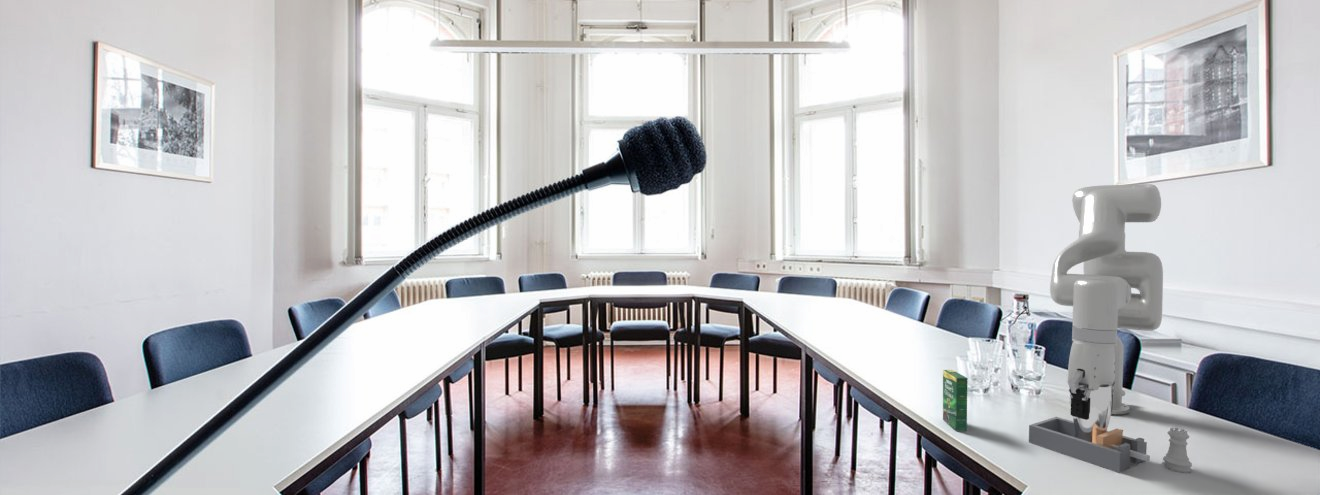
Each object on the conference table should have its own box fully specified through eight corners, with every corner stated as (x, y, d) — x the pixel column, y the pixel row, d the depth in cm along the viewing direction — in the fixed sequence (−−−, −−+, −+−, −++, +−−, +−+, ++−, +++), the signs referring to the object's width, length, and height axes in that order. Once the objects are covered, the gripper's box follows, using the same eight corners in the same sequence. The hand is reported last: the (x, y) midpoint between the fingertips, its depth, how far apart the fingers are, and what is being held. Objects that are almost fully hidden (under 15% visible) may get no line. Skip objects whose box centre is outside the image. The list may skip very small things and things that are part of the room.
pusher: (1116, 451, 116) (1117, 428, 116) (1157, 463, 110) (1158, 440, 110) (1096, 459, 112) (1097, 435, 112) (1138, 472, 106) (1139, 448, 106)
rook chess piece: (1155, 464, 111) (1157, 426, 111) (1175, 463, 112) (1177, 425, 111) (1178, 474, 107) (1180, 434, 107) (1198, 473, 107) (1200, 434, 107)
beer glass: (1118, 458, 113) (1119, 388, 112) (1080, 456, 114) (1082, 386, 114) (1098, 445, 120) (1100, 379, 119) (1063, 443, 121) (1064, 377, 120)
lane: (1055, 433, 128) (1056, 412, 128) (1146, 461, 113) (1146, 437, 113) (1028, 442, 123) (1029, 420, 122) (1119, 472, 108) (1120, 448, 107)
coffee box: (941, 419, 137) (942, 368, 137) (953, 419, 137) (954, 369, 136) (954, 431, 129) (955, 377, 129) (967, 431, 129) (968, 378, 128)
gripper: (1094, 329, 123) (1091, 402, 124) (1052, 336, 115) (1050, 415, 116) (1134, 335, 116) (1132, 412, 117) (1093, 343, 108) (1091, 426, 109)
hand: (1091, 413), depth 116 cm, fingers open, 9 cm apart
